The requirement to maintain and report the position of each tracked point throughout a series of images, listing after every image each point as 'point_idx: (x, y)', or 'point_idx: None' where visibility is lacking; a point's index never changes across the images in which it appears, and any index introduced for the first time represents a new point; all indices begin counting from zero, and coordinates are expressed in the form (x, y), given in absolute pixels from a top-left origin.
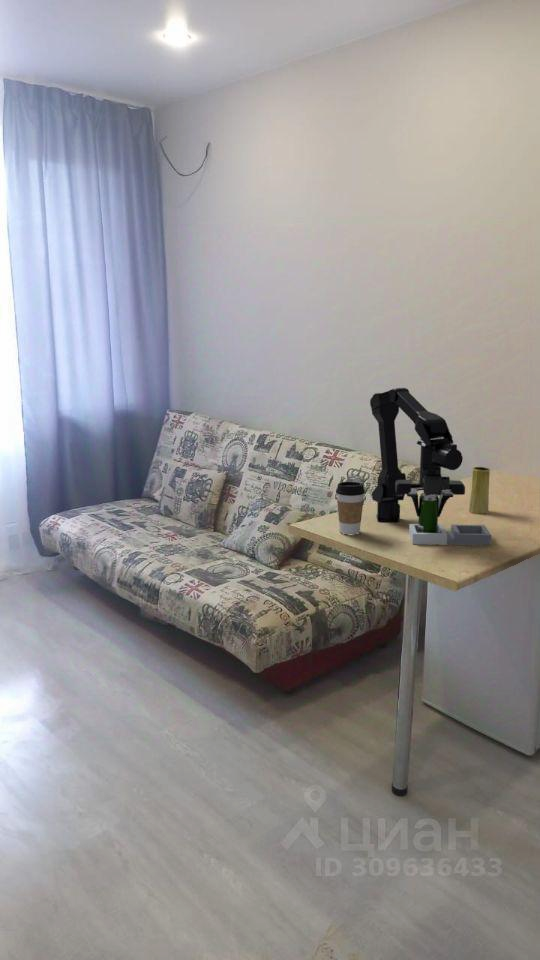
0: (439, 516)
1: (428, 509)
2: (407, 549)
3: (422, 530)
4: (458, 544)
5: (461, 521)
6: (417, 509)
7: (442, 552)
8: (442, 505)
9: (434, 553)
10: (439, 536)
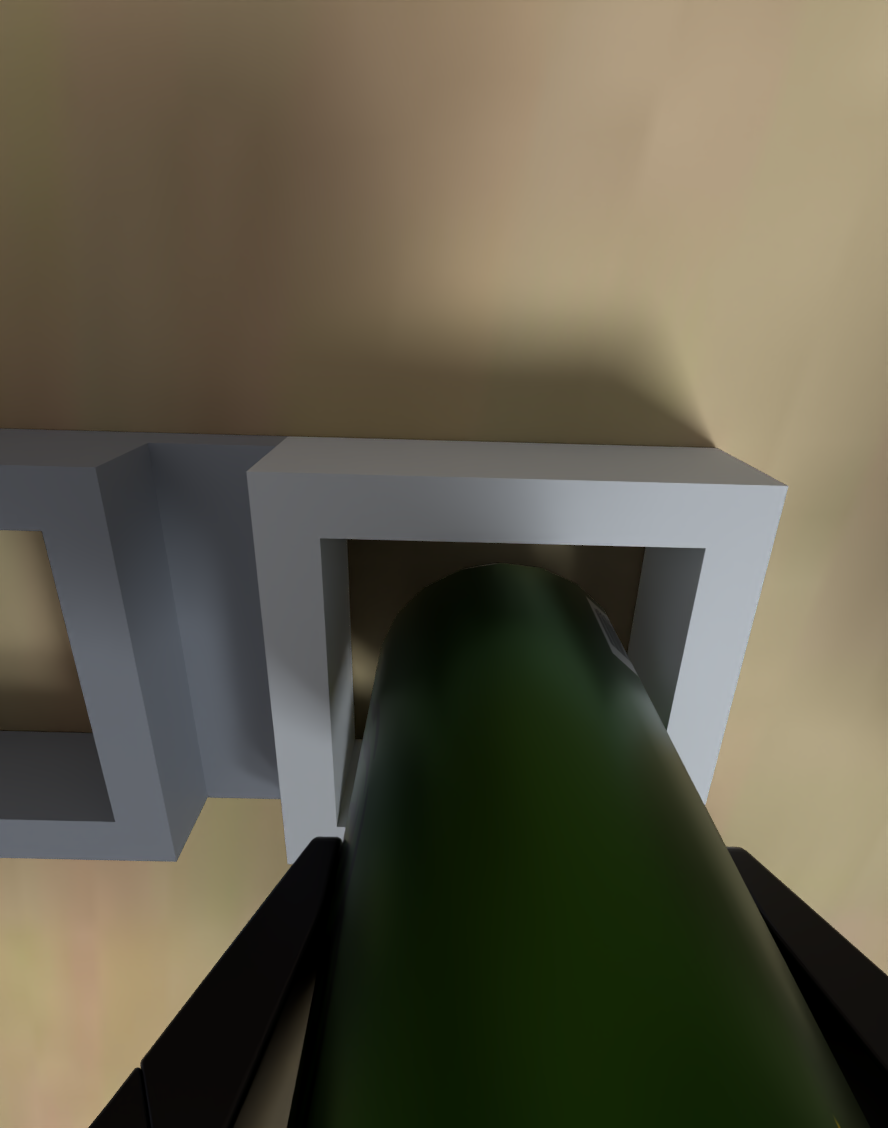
0: (313, 838)
1: (633, 911)
2: (859, 219)
3: (601, 624)
4: (137, 432)
5: (118, 1046)
6: (855, 983)
7: (379, 80)
8: (157, 1110)
9: (509, 18)
10: (371, 467)
